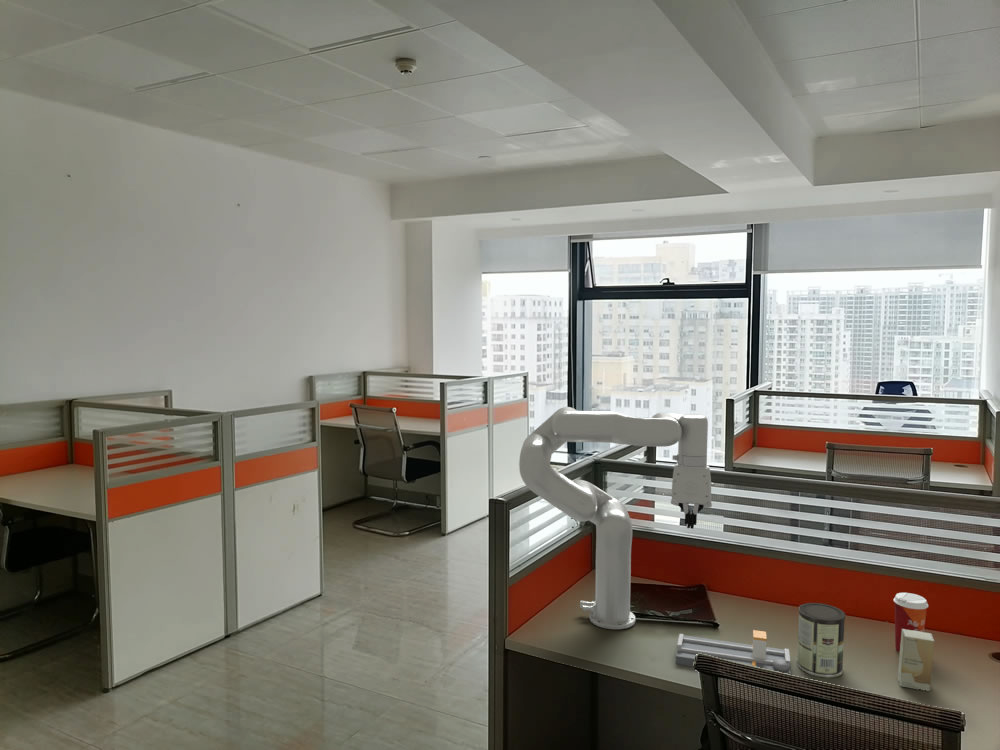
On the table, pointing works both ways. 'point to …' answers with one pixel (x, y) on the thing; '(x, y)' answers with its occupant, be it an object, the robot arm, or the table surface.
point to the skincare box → (915, 659)
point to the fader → (759, 644)
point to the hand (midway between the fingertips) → (690, 526)
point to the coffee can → (821, 639)
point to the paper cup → (909, 614)
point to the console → (730, 653)
